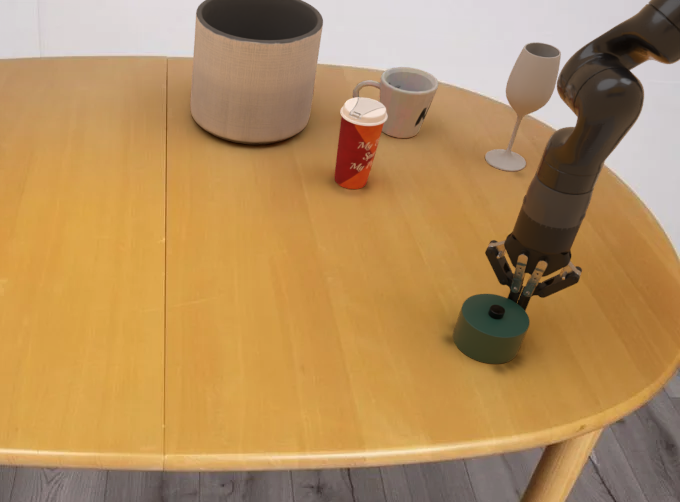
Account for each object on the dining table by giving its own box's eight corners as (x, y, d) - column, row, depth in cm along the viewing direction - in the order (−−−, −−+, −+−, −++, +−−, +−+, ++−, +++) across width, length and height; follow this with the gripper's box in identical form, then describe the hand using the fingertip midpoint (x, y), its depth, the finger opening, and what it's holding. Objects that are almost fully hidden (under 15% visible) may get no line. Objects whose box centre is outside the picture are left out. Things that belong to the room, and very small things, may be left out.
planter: (209, 82, 176) (215, -19, 162) (319, 102, 171) (335, 1, 158) (174, 135, 160) (177, 29, 147) (294, 159, 156) (309, 52, 142)
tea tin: (527, 336, 123) (540, 304, 119) (506, 373, 118) (520, 341, 113) (465, 311, 127) (476, 279, 123) (443, 346, 121) (454, 314, 117)
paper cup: (359, 198, 147) (375, 123, 138) (319, 181, 151) (332, 107, 141) (380, 178, 152) (397, 105, 143) (342, 163, 155) (356, 90, 146)
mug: (427, 145, 161) (440, 96, 154) (346, 135, 162) (355, 86, 156) (425, 118, 168) (438, 69, 162) (348, 109, 170) (357, 60, 163)
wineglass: (482, 167, 156) (517, 55, 142) (485, 146, 162) (519, 37, 147) (526, 175, 155) (566, 63, 140) (527, 154, 160) (566, 44, 146)
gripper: (612, 210, 112) (567, 311, 123) (508, 179, 116) (474, 280, 128) (602, 240, 107) (556, 342, 119) (494, 207, 111) (460, 309, 123)
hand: (514, 310), depth 123 cm, fingers closed
